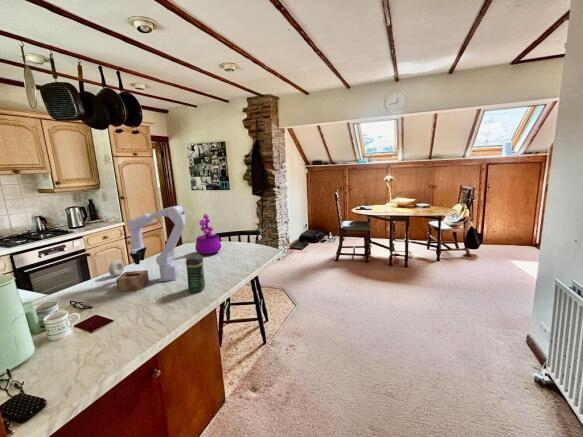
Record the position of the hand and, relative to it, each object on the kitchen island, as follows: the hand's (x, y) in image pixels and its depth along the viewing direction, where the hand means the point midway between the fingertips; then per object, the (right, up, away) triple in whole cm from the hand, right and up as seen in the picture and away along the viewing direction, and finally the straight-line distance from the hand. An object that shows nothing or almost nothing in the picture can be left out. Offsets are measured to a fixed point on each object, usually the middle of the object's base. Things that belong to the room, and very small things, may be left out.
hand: (139, 262), depth 169 cm
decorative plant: (+26, -1, +51) cm, 57 cm away
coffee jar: (+39, -12, -15) cm, 43 cm away
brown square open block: (+1, -12, -8) cm, 14 cm away
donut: (-18, -10, +8) cm, 22 cm away
